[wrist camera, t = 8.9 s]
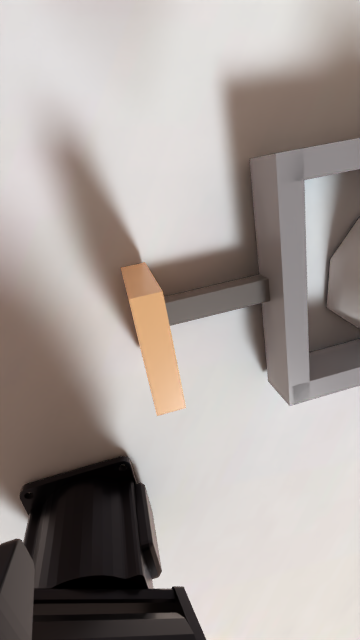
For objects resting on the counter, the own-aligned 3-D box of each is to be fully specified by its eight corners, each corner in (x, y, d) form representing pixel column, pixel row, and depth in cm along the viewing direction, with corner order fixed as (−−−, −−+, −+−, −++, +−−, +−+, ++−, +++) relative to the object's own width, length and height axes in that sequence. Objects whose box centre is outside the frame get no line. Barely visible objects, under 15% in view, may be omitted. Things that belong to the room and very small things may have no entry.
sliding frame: (156, 412, 20) (173, 482, 15) (100, 186, 15) (100, 184, 10) (443, 332, 22) (536, 370, 18) (474, 117, 18) (613, 90, 13)
